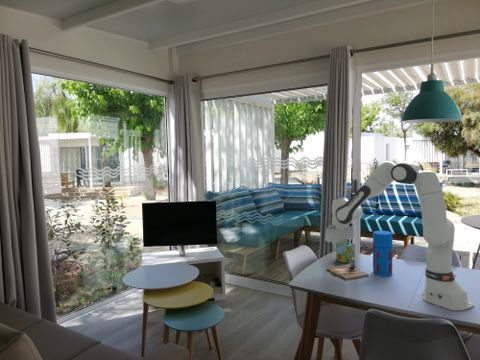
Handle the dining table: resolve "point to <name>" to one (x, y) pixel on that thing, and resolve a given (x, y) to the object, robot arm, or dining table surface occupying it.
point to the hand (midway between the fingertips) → (339, 247)
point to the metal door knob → (352, 265)
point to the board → (347, 272)
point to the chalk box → (346, 253)
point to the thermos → (382, 253)
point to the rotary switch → (340, 246)
